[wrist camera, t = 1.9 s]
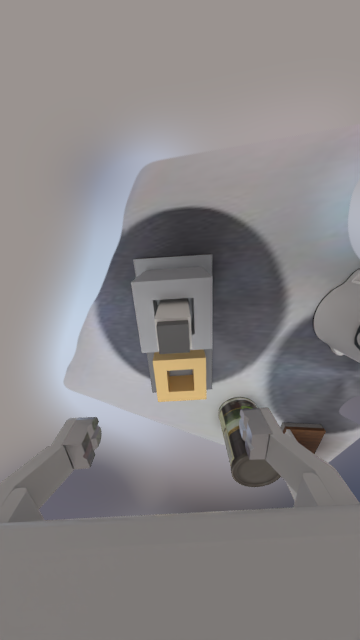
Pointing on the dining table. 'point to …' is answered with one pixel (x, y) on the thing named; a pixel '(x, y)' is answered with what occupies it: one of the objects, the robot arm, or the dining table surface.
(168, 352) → the plug
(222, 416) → the coffee can
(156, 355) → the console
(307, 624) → the robot arm
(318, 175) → the dining table surface
